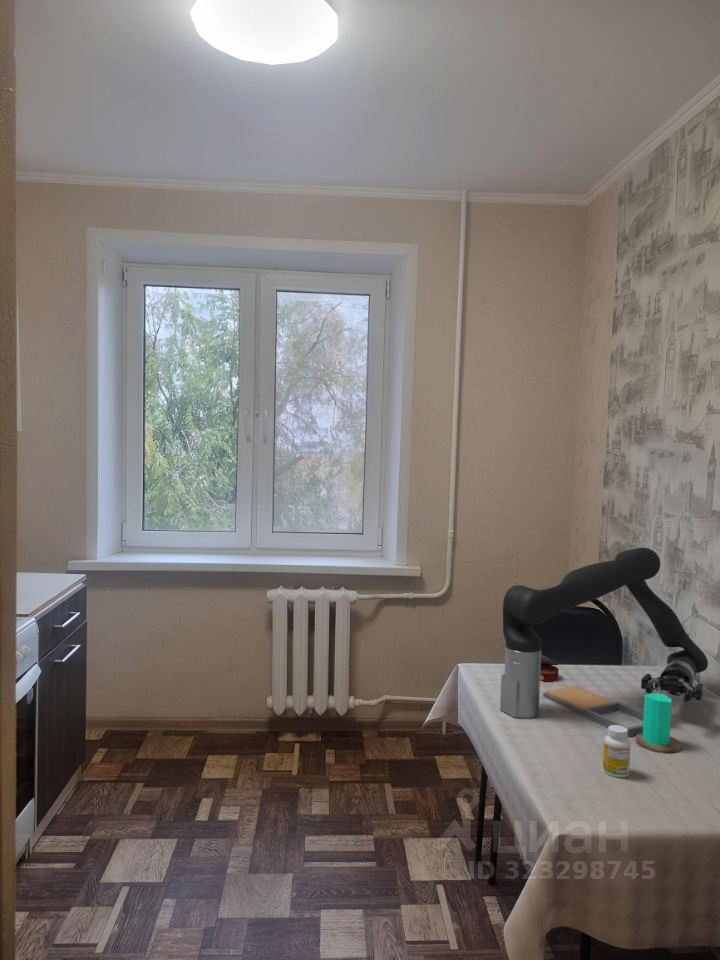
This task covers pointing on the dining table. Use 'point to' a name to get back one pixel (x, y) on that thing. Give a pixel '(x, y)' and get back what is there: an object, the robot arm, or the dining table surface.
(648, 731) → the candle
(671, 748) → the coaster
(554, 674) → the canned food
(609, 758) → the supplement bottle
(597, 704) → the case
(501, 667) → the dining table surface
